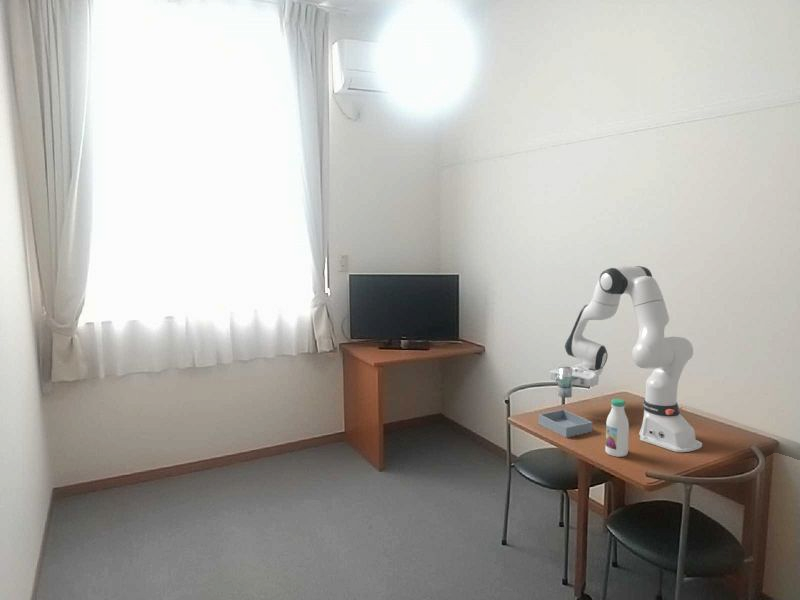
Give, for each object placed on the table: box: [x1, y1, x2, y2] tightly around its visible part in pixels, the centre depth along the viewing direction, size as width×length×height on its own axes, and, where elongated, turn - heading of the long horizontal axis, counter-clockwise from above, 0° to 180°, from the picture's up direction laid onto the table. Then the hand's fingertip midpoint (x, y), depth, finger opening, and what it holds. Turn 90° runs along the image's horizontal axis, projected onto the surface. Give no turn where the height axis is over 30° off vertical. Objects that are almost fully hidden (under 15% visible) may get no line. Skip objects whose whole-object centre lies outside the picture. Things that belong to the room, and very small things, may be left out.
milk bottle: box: [604, 398, 630, 458], centre depth 201 cm, size 8×8×20 cm
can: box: [557, 366, 573, 399], centre depth 237 cm, size 6×6×12 cm
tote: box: [537, 409, 593, 439], centre depth 228 cm, size 17×13×4 cm
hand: (564, 381), depth 236 cm, fingers closed on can, 6 cm apart
